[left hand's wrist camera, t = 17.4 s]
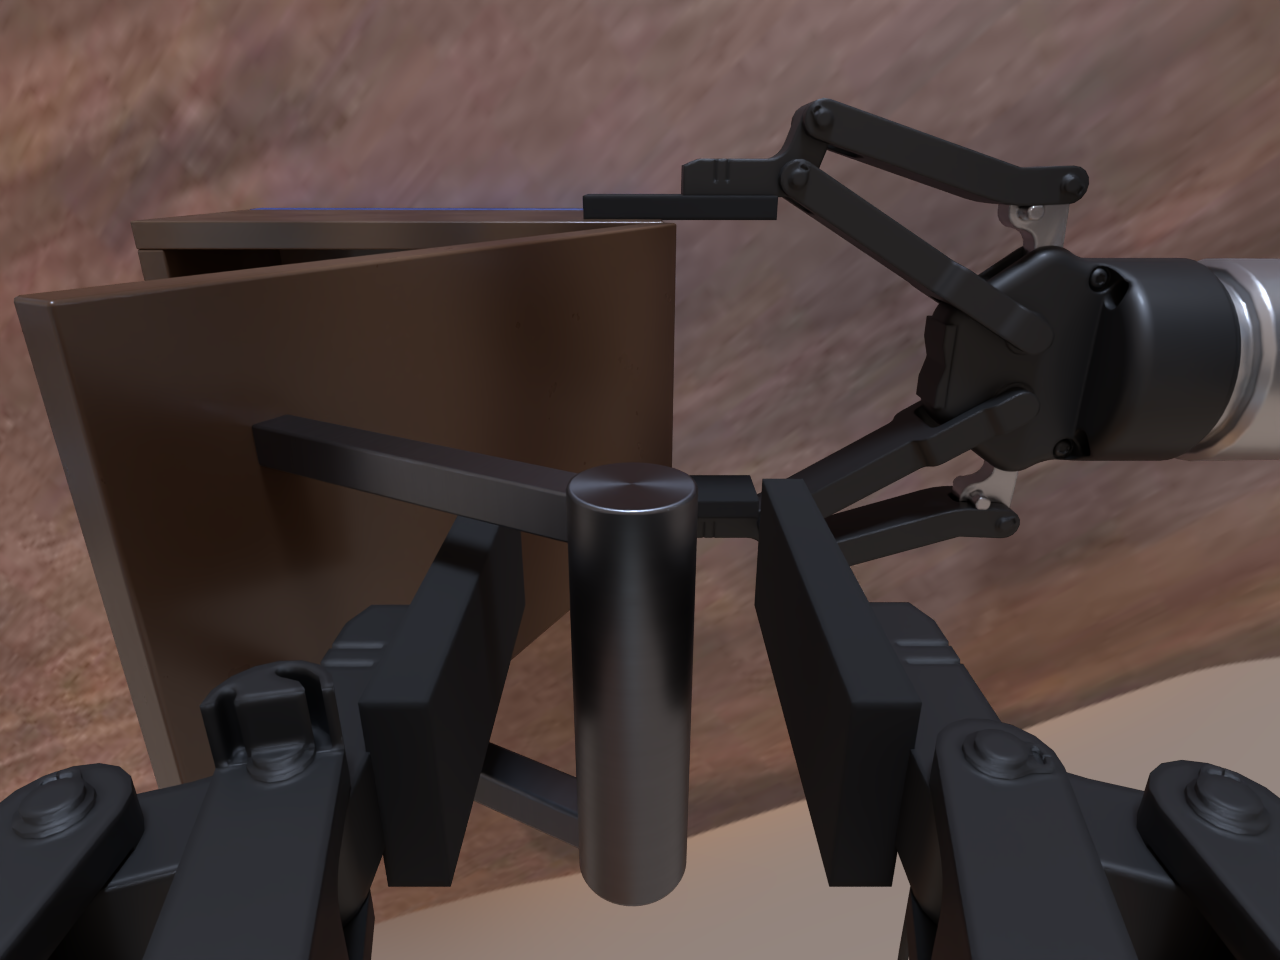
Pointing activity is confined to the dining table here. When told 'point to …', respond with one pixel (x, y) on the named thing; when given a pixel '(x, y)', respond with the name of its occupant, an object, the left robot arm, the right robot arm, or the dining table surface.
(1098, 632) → the dining table surface
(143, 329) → the lid
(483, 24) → the dining table surface
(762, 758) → the dining table surface
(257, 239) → the chest
